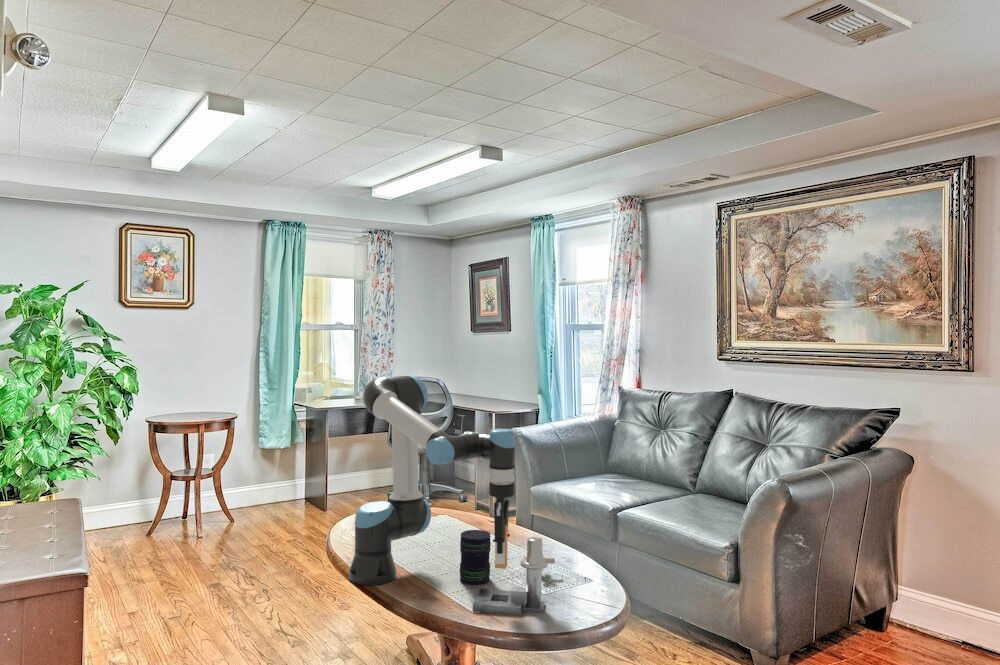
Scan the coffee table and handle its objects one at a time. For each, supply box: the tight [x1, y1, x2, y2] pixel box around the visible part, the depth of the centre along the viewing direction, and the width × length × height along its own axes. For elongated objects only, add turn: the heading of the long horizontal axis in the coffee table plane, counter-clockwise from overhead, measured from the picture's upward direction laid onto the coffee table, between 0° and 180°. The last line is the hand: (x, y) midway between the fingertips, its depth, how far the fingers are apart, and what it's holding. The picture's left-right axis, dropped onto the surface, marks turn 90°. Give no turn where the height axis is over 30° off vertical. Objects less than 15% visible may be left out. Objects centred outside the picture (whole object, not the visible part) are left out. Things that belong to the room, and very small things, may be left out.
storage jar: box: [459, 529, 492, 587], centre depth 225 cm, size 10×10×15 cm
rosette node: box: [472, 536, 549, 616], centre depth 205 cm, size 21×12×20 cm, turn 81°
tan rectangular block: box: [494, 524, 509, 570], centre depth 206 cm, size 3×3×12 cm
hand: (501, 561), depth 206 cm, fingers closed on tan rectangular block, 3 cm apart
